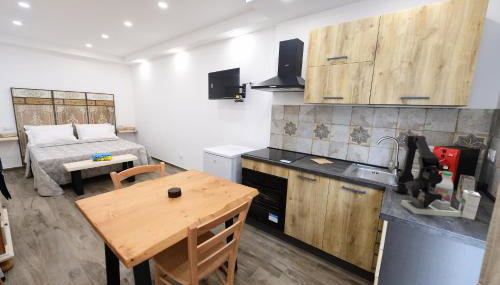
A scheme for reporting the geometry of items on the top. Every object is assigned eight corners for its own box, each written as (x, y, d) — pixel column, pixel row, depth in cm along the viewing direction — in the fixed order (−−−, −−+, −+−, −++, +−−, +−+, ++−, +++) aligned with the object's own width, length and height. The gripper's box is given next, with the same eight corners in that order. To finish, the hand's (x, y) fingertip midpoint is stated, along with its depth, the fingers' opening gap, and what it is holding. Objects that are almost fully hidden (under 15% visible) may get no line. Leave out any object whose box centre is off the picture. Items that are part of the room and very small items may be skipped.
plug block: (419, 207, 116) (421, 196, 115) (426, 211, 111) (429, 200, 110) (410, 206, 116) (412, 195, 115) (417, 211, 111) (419, 199, 110)
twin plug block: (431, 208, 115) (433, 197, 114) (440, 208, 115) (443, 197, 114) (438, 212, 110) (441, 201, 109) (448, 213, 110) (451, 201, 109)
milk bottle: (432, 199, 130) (439, 169, 127) (449, 203, 125) (456, 172, 122) (431, 202, 125) (438, 171, 122) (449, 207, 120) (456, 175, 116)
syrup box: (456, 213, 112) (462, 189, 110) (472, 217, 109) (478, 192, 106) (458, 217, 108) (464, 192, 106) (474, 221, 104) (481, 195, 102)
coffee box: (472, 205, 125) (479, 180, 122) (458, 201, 128) (464, 177, 125) (468, 199, 132) (474, 176, 129) (454, 197, 136) (460, 174, 133)
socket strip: (400, 205, 119) (401, 200, 119) (441, 208, 118) (442, 202, 117) (414, 215, 108) (415, 209, 108) (459, 218, 107) (461, 212, 107)
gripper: (398, 171, 120) (393, 196, 122) (423, 183, 101) (417, 211, 104) (417, 172, 119) (412, 197, 122) (446, 184, 101) (439, 213, 103)
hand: (419, 204), depth 113 cm, fingers open, 7 cm apart
